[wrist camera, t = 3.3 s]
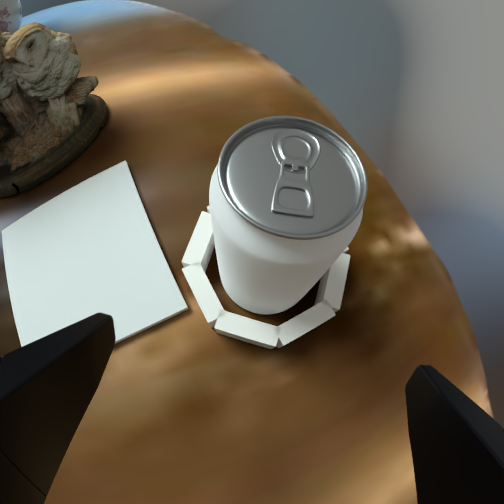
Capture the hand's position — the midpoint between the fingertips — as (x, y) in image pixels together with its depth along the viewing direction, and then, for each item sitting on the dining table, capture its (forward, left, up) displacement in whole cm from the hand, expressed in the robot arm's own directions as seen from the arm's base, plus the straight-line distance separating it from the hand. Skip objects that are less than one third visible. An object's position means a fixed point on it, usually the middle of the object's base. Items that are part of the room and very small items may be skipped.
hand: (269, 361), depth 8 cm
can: (+5, -4, -13) cm, 14 cm away
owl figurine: (+28, +11, -13) cm, 33 cm away
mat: (+12, +9, -12) cm, 20 cm away
